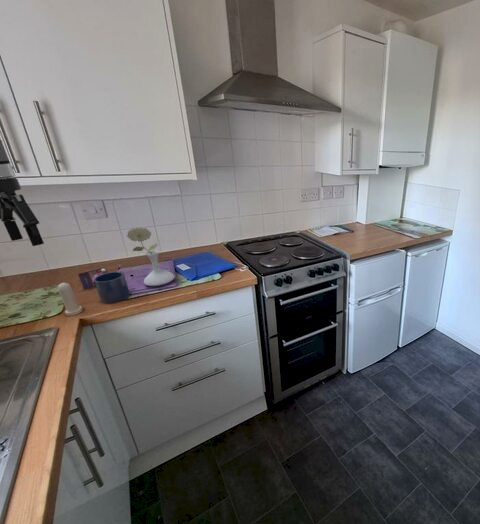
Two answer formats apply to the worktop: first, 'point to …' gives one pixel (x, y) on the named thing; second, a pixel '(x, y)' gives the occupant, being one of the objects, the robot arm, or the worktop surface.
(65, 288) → the game piece
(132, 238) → the flower in vase
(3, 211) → the robot arm
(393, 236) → the worktop surface
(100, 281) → the cup
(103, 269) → the purple printed box
